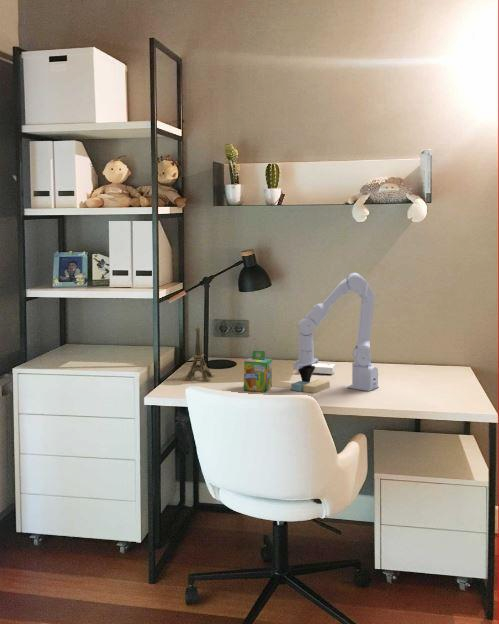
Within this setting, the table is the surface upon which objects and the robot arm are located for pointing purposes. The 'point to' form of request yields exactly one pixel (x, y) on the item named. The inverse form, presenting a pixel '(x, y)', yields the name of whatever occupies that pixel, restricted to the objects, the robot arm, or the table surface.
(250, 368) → the chalk box
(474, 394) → the table surface
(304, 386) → the cream usb hub
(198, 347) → the eiffel tower
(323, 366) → the bracket
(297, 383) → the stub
